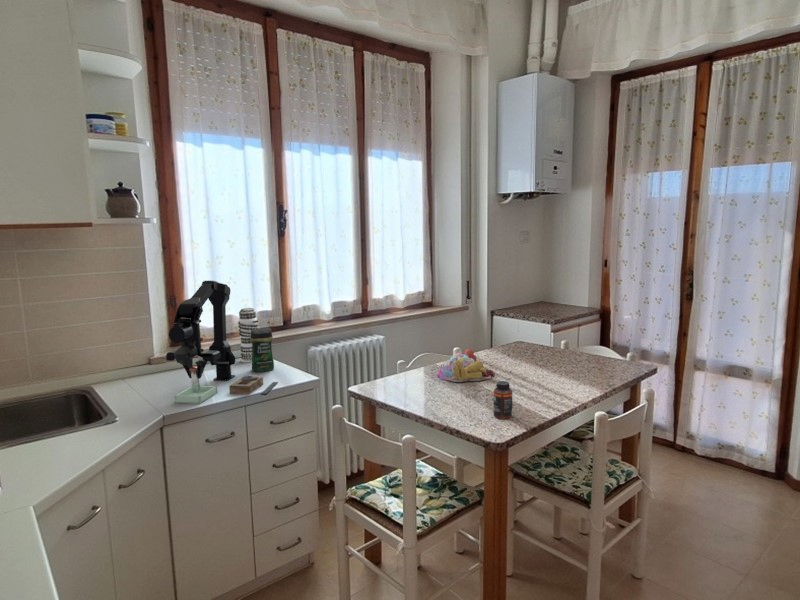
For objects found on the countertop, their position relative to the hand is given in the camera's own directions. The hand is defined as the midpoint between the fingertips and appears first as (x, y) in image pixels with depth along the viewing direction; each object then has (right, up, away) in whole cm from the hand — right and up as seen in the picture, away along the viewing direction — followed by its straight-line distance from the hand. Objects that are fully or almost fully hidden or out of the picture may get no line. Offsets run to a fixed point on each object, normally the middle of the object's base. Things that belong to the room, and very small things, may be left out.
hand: (195, 378), depth 181 cm
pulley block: (+16, -6, +11) cm, 20 cm away
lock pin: (0, -5, +1) cm, 5 cm away
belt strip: (+25, -6, +10) cm, 27 cm away
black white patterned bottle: (+4, 0, +54) cm, 54 cm away
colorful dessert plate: (+102, -3, +24) cm, 105 cm away
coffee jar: (+15, -2, +37) cm, 40 cm away
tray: (0, -7, +1) cm, 8 cm away
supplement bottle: (+109, -9, -23) cm, 111 cm away
